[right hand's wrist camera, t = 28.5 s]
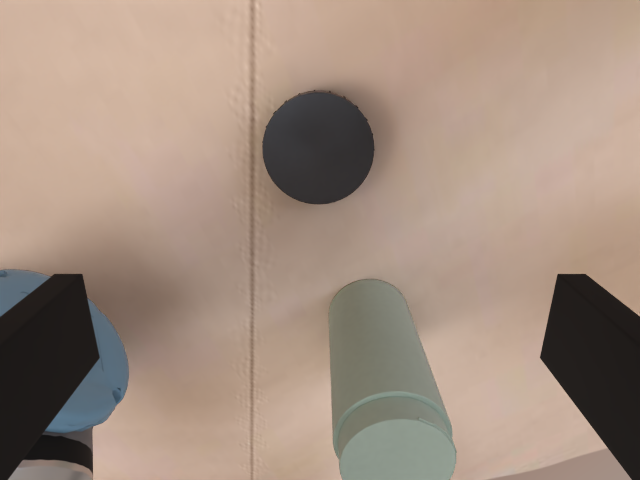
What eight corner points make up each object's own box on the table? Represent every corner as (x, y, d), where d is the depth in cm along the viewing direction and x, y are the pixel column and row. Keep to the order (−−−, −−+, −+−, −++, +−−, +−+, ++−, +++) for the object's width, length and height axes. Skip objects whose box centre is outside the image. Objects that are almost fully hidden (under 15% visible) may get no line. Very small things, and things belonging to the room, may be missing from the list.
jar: (384, 359, 48) (421, 524, 31) (315, 331, 47) (313, 487, 30) (422, 297, 46) (486, 441, 28) (350, 266, 44) (370, 396, 27)
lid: (294, 68, 38) (292, 68, 36) (391, 122, 39) (396, 126, 37) (247, 168, 41) (243, 174, 39) (340, 214, 42) (341, 222, 40)
